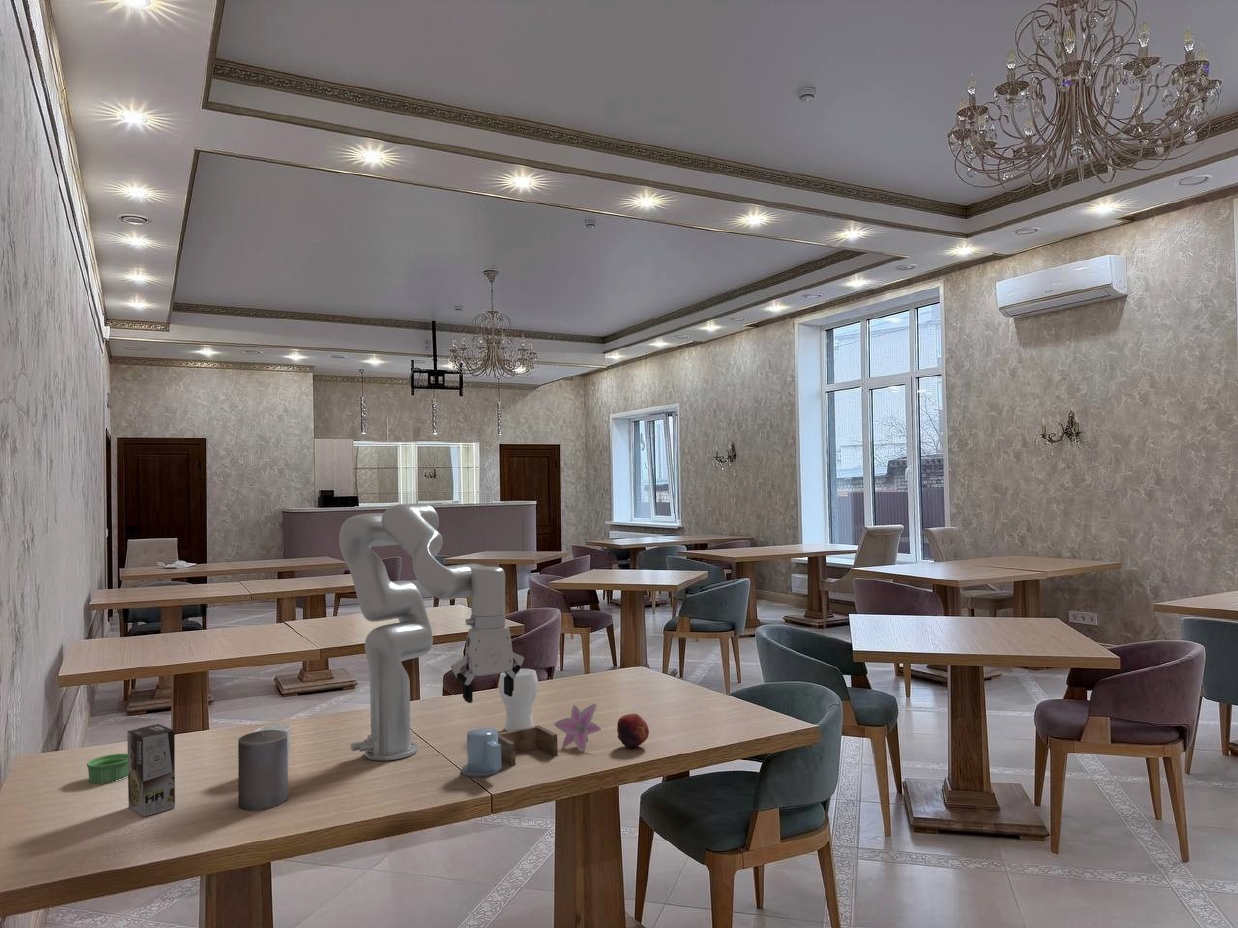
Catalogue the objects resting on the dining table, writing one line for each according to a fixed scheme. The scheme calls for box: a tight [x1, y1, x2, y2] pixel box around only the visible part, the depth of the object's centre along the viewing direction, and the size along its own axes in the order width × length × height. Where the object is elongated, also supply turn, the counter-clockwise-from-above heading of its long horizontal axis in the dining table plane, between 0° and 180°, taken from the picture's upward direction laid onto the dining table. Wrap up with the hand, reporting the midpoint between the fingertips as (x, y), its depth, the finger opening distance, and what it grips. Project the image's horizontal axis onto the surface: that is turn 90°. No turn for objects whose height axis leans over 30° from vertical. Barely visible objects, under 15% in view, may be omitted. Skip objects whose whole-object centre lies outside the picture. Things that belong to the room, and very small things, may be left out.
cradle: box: [498, 725, 559, 766], centre depth 200 cm, size 12×10×5 cm
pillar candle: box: [237, 730, 289, 811], centre depth 174 cm, size 10×10×15 cm
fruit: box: [616, 713, 650, 749], centre depth 204 cm, size 8×8×8 cm
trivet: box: [461, 763, 503, 778], centre depth 189 cm, size 9×9×1 cm
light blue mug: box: [466, 727, 503, 773], centre depth 187 cm, size 7×12×8 cm, turn 32°
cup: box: [498, 668, 539, 732], centre depth 223 cm, size 11×11×15 cm
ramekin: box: [86, 753, 128, 784], centre depth 192 cm, size 9×9×4 cm
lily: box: [553, 703, 602, 752], centre depth 207 cm, size 12×12×10 cm
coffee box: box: [126, 723, 176, 818], centre depth 172 cm, size 9×6×16 cm
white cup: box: [253, 724, 291, 760], centre depth 192 cm, size 8×8×10 cm
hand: (488, 698), depth 185 cm, fingers open, 9 cm apart
